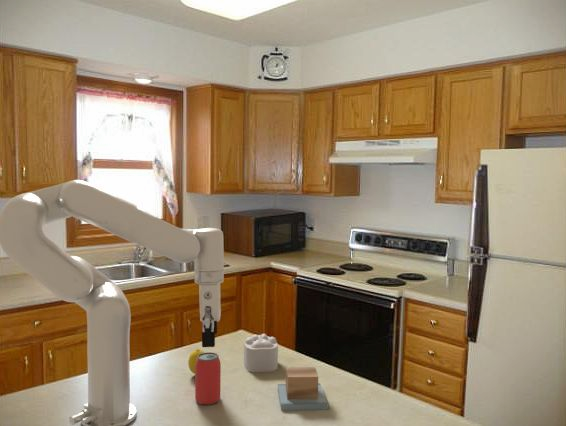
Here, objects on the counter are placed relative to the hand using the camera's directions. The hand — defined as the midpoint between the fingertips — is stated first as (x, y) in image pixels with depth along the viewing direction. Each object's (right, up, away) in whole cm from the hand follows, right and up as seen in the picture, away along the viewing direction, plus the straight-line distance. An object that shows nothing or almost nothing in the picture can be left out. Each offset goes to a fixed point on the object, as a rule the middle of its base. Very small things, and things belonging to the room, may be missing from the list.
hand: (209, 339), depth 127 cm
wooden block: (+24, -15, +3) cm, 29 cm away
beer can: (-1, -16, +1) cm, 17 cm away
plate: (+24, -17, +3) cm, 29 cm away
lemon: (-6, -15, +17) cm, 23 cm away
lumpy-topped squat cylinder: (+12, -15, +26) cm, 33 cm away
